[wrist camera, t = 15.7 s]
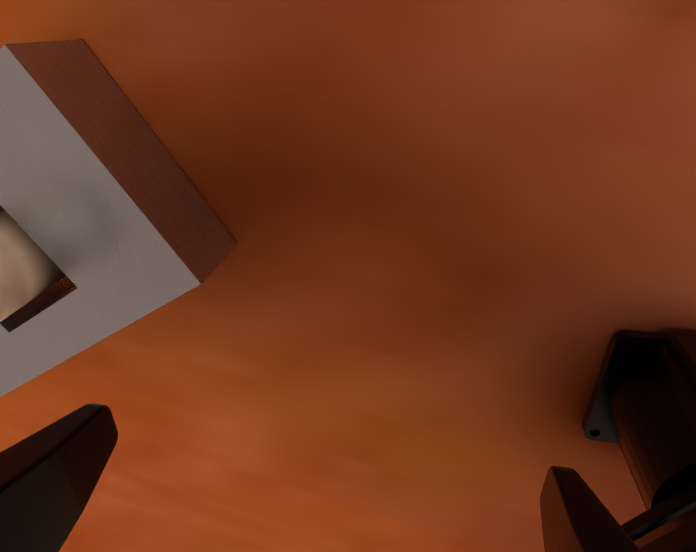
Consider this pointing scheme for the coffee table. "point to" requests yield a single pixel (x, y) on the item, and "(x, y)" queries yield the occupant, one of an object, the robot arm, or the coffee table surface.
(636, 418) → the robot arm
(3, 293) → the pin
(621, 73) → the coffee table surface
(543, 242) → the coffee table surface
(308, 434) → the coffee table surface
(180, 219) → the socket block
